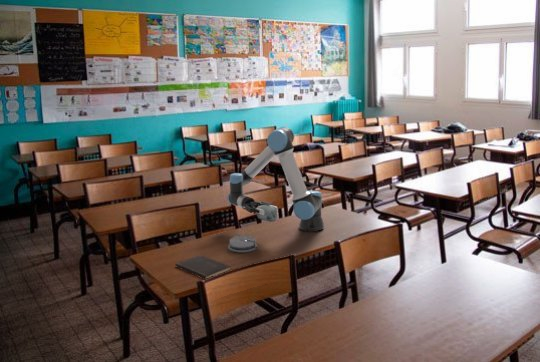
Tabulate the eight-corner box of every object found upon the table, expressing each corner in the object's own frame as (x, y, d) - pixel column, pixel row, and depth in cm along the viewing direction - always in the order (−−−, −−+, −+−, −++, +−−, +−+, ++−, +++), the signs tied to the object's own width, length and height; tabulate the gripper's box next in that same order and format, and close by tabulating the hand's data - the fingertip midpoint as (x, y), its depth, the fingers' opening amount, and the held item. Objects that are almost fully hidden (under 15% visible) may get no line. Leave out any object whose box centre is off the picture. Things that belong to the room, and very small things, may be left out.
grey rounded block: (283, 215, 289) (274, 201, 287) (271, 226, 285) (262, 211, 282) (270, 215, 301) (261, 201, 298) (259, 225, 297) (250, 211, 294)
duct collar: (245, 240, 294) (245, 233, 293) (263, 248, 282) (263, 240, 281) (222, 247, 285) (222, 239, 284) (239, 255, 273) (239, 247, 272)
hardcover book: (200, 258, 270) (200, 254, 269) (230, 270, 255) (230, 266, 254) (175, 267, 259) (175, 263, 258) (205, 280, 243) (205, 276, 243)
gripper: (260, 205, 313) (285, 213, 296) (231, 212, 300) (255, 221, 283) (260, 193, 311) (285, 201, 294) (231, 199, 298) (255, 208, 281)
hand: (270, 211), depth 288 cm, fingers closed on grey rounded block, 9 cm apart
